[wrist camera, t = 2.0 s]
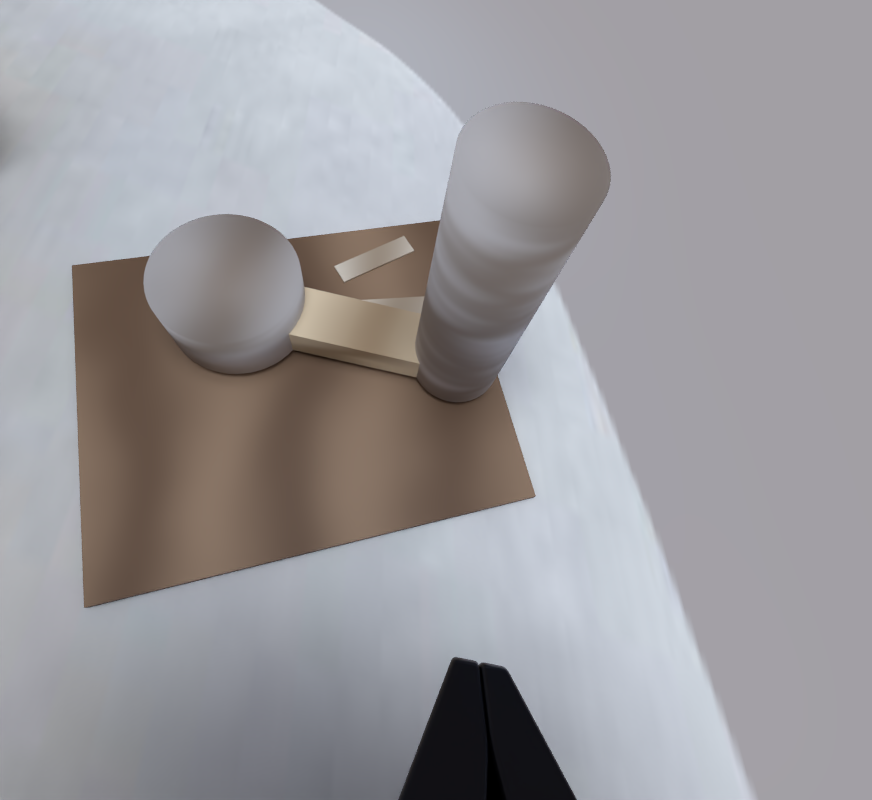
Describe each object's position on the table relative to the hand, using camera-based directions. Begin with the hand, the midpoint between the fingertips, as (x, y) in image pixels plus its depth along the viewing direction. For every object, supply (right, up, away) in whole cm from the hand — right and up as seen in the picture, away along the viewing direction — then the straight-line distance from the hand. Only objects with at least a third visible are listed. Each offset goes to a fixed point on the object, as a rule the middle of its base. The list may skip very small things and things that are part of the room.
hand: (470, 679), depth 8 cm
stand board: (-7, +5, +16) cm, 18 cm away
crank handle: (-5, +7, +16) cm, 18 cm away
